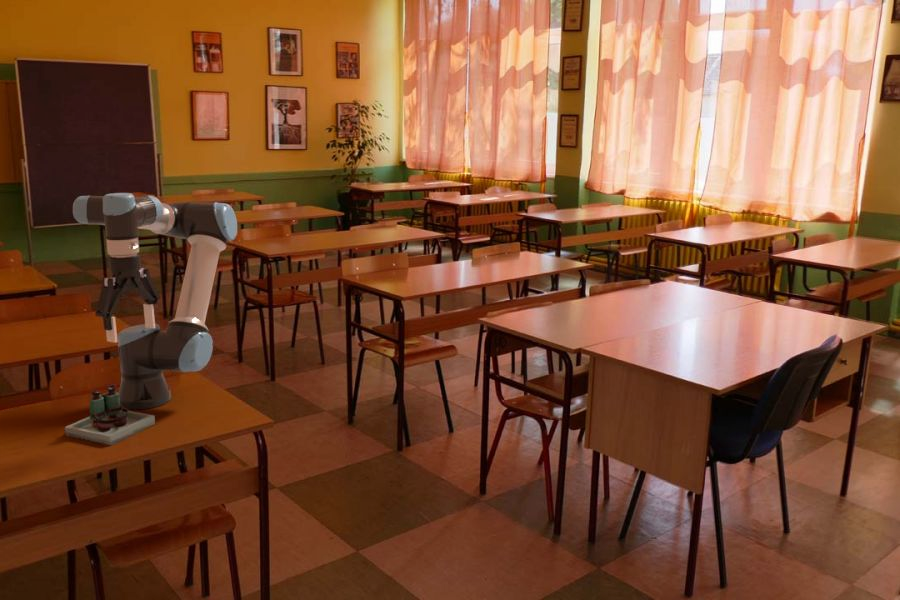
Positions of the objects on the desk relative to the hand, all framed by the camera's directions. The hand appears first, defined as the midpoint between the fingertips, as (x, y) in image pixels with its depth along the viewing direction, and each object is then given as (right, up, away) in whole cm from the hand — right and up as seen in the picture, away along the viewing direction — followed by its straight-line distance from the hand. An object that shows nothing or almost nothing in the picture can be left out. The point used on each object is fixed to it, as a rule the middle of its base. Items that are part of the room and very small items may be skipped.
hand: (131, 334), depth 205 cm
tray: (-10, -27, +10) cm, 30 cm away
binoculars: (-10, -26, +10) cm, 29 cm away
